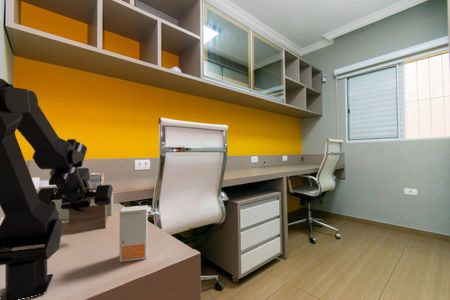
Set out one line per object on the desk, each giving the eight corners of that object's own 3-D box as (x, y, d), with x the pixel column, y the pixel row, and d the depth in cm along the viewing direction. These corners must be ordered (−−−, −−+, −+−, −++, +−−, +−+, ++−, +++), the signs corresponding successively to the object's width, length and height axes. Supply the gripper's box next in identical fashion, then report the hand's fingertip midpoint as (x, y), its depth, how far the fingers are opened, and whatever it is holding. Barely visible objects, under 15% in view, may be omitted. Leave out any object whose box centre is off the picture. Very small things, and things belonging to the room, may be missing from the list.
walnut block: (105, 228, 71) (105, 204, 71) (69, 233, 67) (68, 208, 67) (107, 217, 84) (107, 196, 84) (77, 220, 79) (76, 199, 79)
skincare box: (119, 263, 49) (118, 211, 49) (122, 254, 53) (122, 206, 53) (147, 259, 50) (146, 209, 50) (148, 251, 55) (147, 204, 55)
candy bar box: (101, 213, 88) (101, 174, 88) (87, 215, 86) (87, 175, 86) (104, 207, 98) (104, 171, 98) (91, 208, 96) (91, 172, 96)
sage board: (111, 215, 85) (111, 190, 85) (52, 220, 79) (52, 194, 79) (113, 213, 88) (112, 189, 88) (56, 218, 82) (55, 192, 82)
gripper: (111, 159, 66) (118, 188, 76) (38, 160, 60) (56, 191, 71) (105, 188, 58) (113, 216, 69) (21, 193, 53) (44, 222, 63)
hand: (83, 210), depth 68 cm, fingers closed
